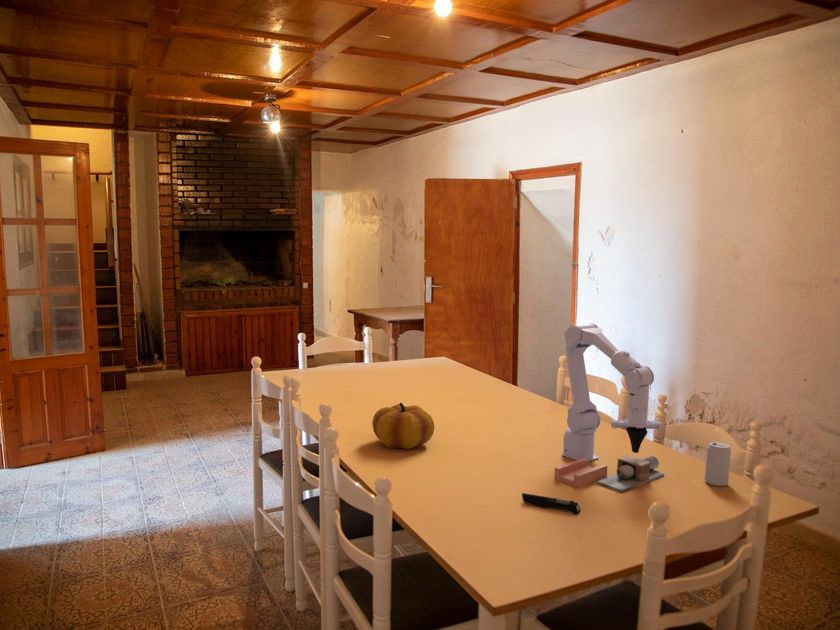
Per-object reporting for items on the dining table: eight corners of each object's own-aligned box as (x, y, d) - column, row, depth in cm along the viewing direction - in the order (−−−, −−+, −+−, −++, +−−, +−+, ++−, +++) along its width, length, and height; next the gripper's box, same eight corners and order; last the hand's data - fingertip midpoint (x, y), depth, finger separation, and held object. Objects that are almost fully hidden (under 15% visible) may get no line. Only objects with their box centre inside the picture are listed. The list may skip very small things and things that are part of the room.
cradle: (554, 478, 193) (554, 467, 193) (583, 468, 202) (584, 457, 202) (577, 487, 187) (578, 476, 186) (606, 476, 195) (607, 465, 195)
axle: (628, 481, 189) (628, 467, 189) (617, 478, 192) (616, 465, 192) (659, 469, 199) (658, 457, 199) (647, 467, 202) (646, 454, 202)
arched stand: (596, 483, 190) (597, 464, 189) (639, 467, 204) (640, 450, 203) (621, 492, 183) (622, 473, 183) (663, 475, 197) (665, 457, 196)
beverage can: (708, 477, 196) (710, 439, 195) (730, 483, 192) (733, 444, 190) (701, 483, 191) (704, 444, 190) (724, 489, 187) (727, 449, 186)
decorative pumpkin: (428, 456, 212) (429, 411, 210) (363, 451, 216) (364, 407, 214) (439, 437, 231) (439, 396, 229) (379, 433, 235) (379, 392, 234)
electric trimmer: (523, 501, 178) (524, 490, 178) (580, 511, 172) (581, 499, 171) (520, 506, 174) (520, 495, 174) (578, 516, 168) (578, 504, 168)
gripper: (616, 410, 188) (613, 455, 190) (666, 411, 187) (664, 456, 189) (610, 404, 195) (608, 447, 197) (659, 405, 194) (656, 449, 196)
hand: (635, 451), depth 193 cm, fingers closed
